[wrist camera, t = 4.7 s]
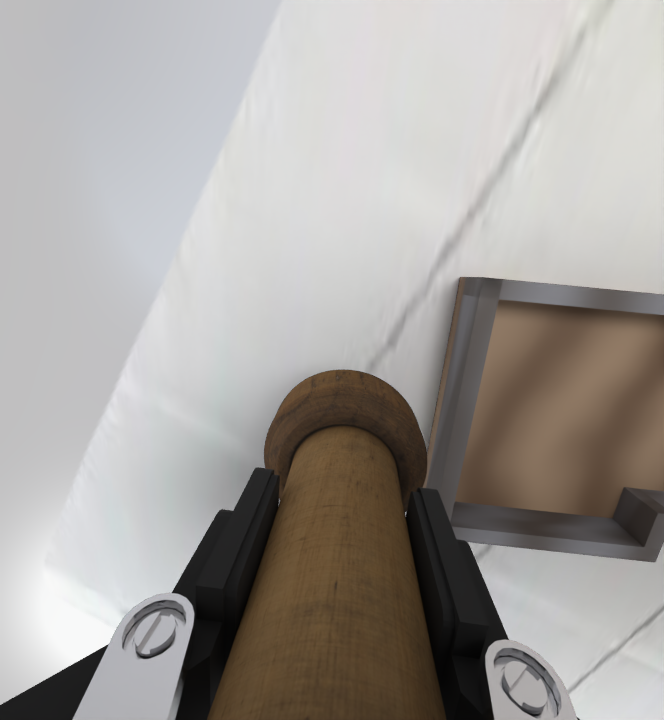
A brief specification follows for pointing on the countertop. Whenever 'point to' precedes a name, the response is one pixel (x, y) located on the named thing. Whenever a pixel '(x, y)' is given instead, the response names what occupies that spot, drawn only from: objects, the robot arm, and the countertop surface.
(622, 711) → the countertop surface
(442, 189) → the countertop surface
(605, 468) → the keyhole board
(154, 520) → the countertop surface
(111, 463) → the countertop surface
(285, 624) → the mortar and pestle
